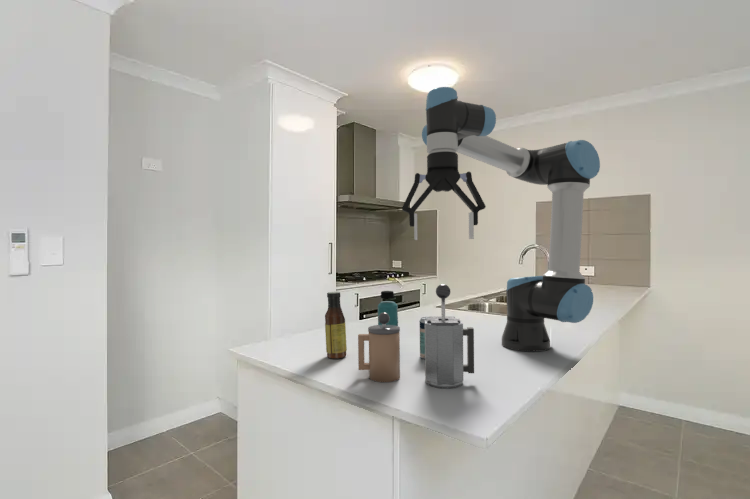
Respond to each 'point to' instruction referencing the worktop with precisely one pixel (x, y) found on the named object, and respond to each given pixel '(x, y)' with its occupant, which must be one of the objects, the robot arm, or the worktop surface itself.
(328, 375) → the worktop surface
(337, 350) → the sauce bottle
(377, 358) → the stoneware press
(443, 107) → the robot arm
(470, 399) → the worktop surface
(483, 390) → the worktop surface
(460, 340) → the steel carafe
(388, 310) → the beverage bottle
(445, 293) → the plunger
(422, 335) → the beer can
